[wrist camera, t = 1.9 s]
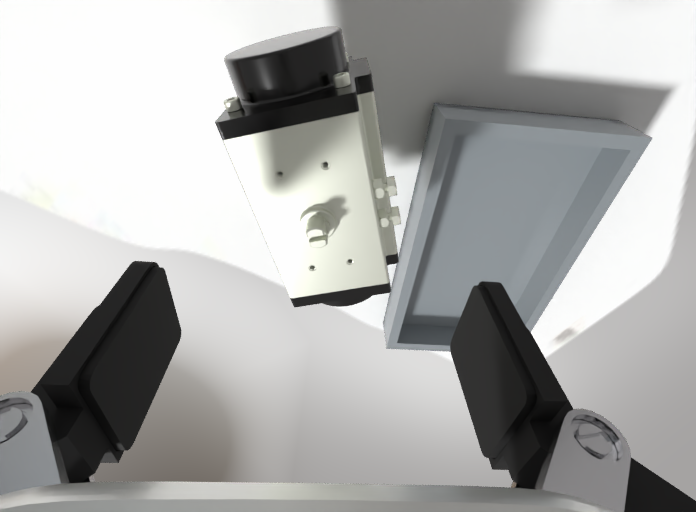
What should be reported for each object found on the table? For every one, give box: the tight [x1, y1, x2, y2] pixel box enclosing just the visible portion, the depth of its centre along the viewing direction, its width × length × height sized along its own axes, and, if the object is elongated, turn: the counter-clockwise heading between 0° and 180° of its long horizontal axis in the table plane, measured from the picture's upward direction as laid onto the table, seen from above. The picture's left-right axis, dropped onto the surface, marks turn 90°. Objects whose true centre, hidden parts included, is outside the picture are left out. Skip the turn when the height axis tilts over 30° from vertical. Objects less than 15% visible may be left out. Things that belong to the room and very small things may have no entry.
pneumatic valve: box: [215, 26, 401, 307], centre depth 18 cm, size 6×12×12 cm, turn 11°
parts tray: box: [383, 103, 652, 351], centre depth 27 cm, size 20×12×3 cm, turn 175°
